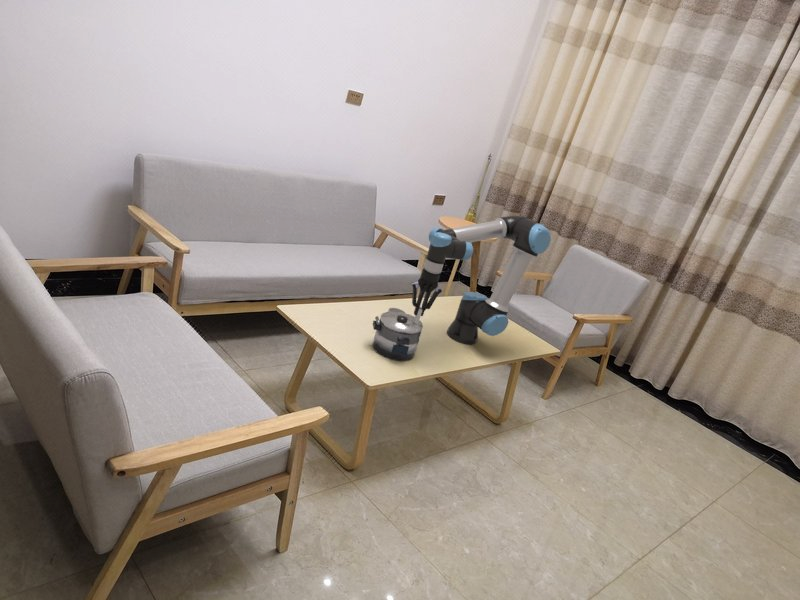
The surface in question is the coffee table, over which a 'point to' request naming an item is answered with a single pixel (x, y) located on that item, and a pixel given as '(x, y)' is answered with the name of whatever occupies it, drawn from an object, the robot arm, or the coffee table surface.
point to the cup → (395, 310)
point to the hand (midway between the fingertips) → (415, 322)
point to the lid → (399, 322)
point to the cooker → (394, 343)
